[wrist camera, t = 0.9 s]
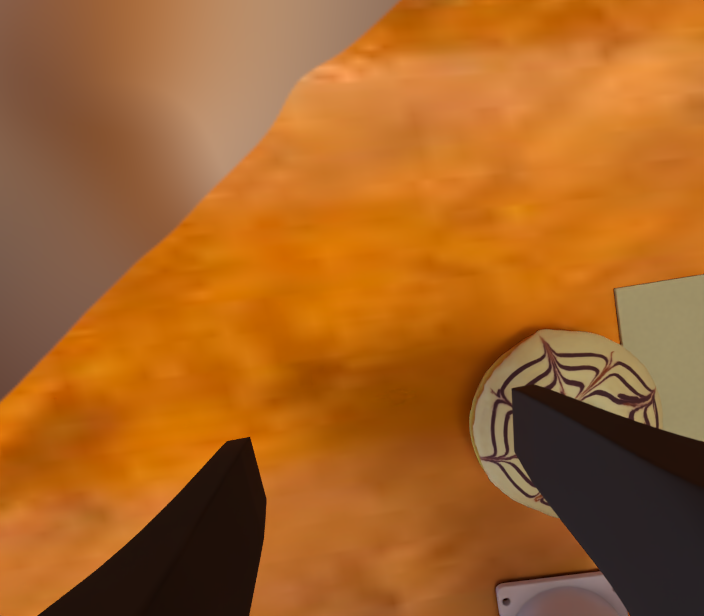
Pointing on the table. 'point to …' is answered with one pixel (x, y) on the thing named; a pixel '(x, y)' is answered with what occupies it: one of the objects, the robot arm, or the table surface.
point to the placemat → (669, 345)
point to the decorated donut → (563, 377)
